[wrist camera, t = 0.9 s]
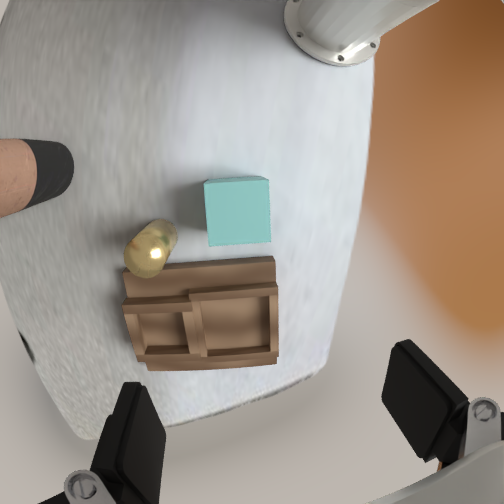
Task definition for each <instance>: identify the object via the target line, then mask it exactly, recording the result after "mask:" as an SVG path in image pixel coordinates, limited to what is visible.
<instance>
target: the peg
mask: <svg viewBox="0 0 504 504" xmlns="http://www.w3.org/2000/svg"><path fill="white" fill-rule="evenodd" d="M177 238H178V235H177V230H176V228H175V227H174V225H173V224H172V223H171V222H169V221H167V220H164V219H157V220H154V221H152V222H151V223H150V224H149V225H147V226H146V227H145V228H144V229H143V230H142V231H141V232H140V233H139V234H138V235H136V236H135V237H134V238H133V239H132V240H131V241H130V242H129V243H128V244H127V246H126V248H125V251H124V261H125V264H126V266H127V268H128V269H129V270H130V272H132V273H133V274H134V275H136V276H138V277H141V278H151V277H154V276H156V275H157V274H159V273H160V271H161V270H162V268H163V266H164V265H165V263H166V261H167V259H168V257H169V255H170V253H171V252H172V250H173V248H174V246H175V244H176V242H177Z"/></svg>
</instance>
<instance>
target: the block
mask: <svg viewBox="0 0 504 504" xmlns="http://www.w3.org/2000/svg"><path fill="white" fill-rule="evenodd" d="M204 196H205V208H206V220H207V232H208V242H209V246H222V245H235V244H249V243H263V242H271V227H270V200H269V180H268V179H266V178H264V177H262V176H256V177H238V178H223V179H210V180H207V181H206V182H205V183H204Z"/></svg>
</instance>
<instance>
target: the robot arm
mask: <svg viewBox="0 0 504 504" xmlns="http://www.w3.org/2000/svg"><path fill="white" fill-rule="evenodd" d="M438 1H439V0H288V1H287V3H286V6H285V8H284V15H283V16H284V23H285V26H286V29H287V31H288V33H289V35H290V36H291V38H292V39H293V40H294V42H295V43H296V44H297V45H298V46H299V47H300V48H301V49H302V50H303V51H305V52H306V53H308V54H309V55H311V56H312V57H314V58H316V59H318V60H320V61H322V62H325V63H328V64H331V65H337V66H353V65H358V64H360V63H363V62H365V61H366V60H368V59H370V58H371V57H372V56H373V55H374V54H375V53H376V51H377V49H378V47H379V43H380V36H382V35H383V34H385V33H386V32H387V31H389V30H390V29H392V28H394V27H395V26H397V25H399V24H400V23H402V22H404V21H405V20H407V19H408V18H410V17H412V16H413V15H415V14H417V13H419V12H420V11H422V10H424V9H426V8H427V7H429V6H431V5H432V4H434V3H436V2H438ZM502 2H503V3H504V0H502ZM297 36H299V37H300V38H299V37H297ZM338 59H339V60H340V61H339V60H338ZM381 397H382V402H383V403H384V405H385V407H386V408H387V410H388V411H389V413H390V414H391V416H392V417H393V419H394V420H395V422H396V424H397V425H398V426H399V428H400V429H401V431H402V433H403V434H404V436H405V437H406V439H407V440H408V442H409V444H410V445H411V447H412V448H413V450H414V451H415V453H416V455H417V456H418V457H419V458H423V460H424V461H425V463H426V462H428V461H430V460H432V459H434V458H436V457H437V458H438V460H439V464H438V469H437V472H436V473H434V474H432V475H430V476H428V477H426V478H424V479H422V480H420V481H418V482H416V483H414V484H412V485H410V486H407V487H405V488H403V489H401V490H398V491H396V492H394V493H391V494H389V495H386V496H384V497H381V498H379V499H376V500H373V501H371V502H368V503H365V504H504V412H500V408H499V406H498V404H497V403H496V402H495V401H494V400H492V399H490V398H485V397H482V398H481V397H480V398H477V399H475V400H473V401H472V402H471V403H469V401H468V398H467V397H466V395H465V394H464V393H463V392H462V391H461V390H460V389H459V388H458V387H457V386H456V385H455V384H454V383H453V382H452V381H451V380H450V379H449V378H448V377H447V376H446V375H445V373H443V371H442V370H440V369H439V367H438V366H437V365H436V364H434V362H433V361H432V360H431V359H430V358H429V357H428V356H427V355H426V354H425V353H424V352H423V351H422V350H421V349H420V348H419V347H418V346H417V345H416V344H415V343H413V341H411V340H410V339H407V340H404V341H401V342H397V343H396V344H395V346H394V347H393V348H392V350H391V355H390V360H389V365H388V369H387V374H386V379H385V383H384V387H383V391H382V396H381ZM165 442H166V433H165V429H164V427H163V425H162V423H161V421H160V419H159V416H158V414H157V412H156V410H155V407H154V405H153V403H152V400H151V398H150V395H149V393H148V391H147V388H146V386H142V385H141V383H140V382H124V384H123V386H122V389H121V391H120V394H119V397H118V400H117V402H116V405H115V408H114V411H113V414H112V415H109V416H108V417H107V419H106V422H105V425H104V428H103V431H102V433H101V436H100V439H99V442H98V445H97V449H96V452H95V455H94V458H93V461H92V465H91V468H90V471H88V470H78V471H74V472H73V473H71V474H70V475H69V476H68V477H67V478H66V480H65V482H64V492H62V493H60V494H58V495H56V496H54V497H52V498H50V499H48V500H45V501H43V502H41V503H39V504H159V496H160V486H161V476H162V467H163V459H164V451H165Z"/></svg>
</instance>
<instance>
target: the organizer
mask: <svg viewBox="0 0 504 504" xmlns="http://www.w3.org/2000/svg"><path fill="white" fill-rule="evenodd" d="M122 274H123V279H124V283H125V288H126V292H127V297H128V298H126V299H125V301H124V302H123V304H122V309H123V313H124V317H125V321H126V324H127V328H128V331H129V335H130V338H131V341H132V345H133V348H134V351H135V354H136V357H137V360H138V362H146V365H147V368H148V371H189V370H212V369H228V368H241V367H253V366H263V365H272V364H277V357H279V334H278V286H277V283H276V266H275V260H274V258H273V256H265V257H252V258H238V259H225V260H212V261H198V262H185V263H171V264H165V265H164V266H163V268H162V270H161V271H160V273H159V274H157V275H156V276H154V277H151V278H141V277H138V276H136V275H134V274H133V273H132V272H130V270H129V269H128V268H127V267H126V269H125V270H124V271H123V272H122Z"/></svg>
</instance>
